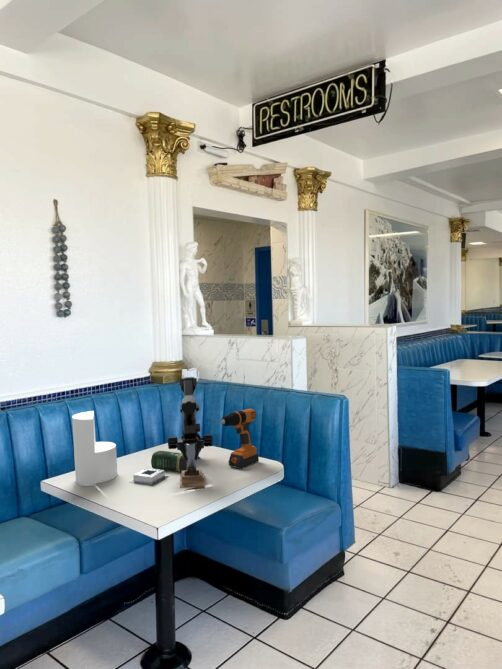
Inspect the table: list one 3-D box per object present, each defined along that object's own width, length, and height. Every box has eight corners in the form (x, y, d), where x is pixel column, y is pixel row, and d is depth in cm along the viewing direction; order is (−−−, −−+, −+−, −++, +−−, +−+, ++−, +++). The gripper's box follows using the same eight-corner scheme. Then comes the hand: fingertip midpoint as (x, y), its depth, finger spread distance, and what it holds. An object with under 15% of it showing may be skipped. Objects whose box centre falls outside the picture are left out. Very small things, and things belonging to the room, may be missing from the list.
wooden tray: (180, 477, 221) (179, 467, 221) (203, 475, 222) (203, 466, 222) (179, 490, 205) (179, 480, 205) (204, 488, 206) (204, 478, 206)
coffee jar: (149, 470, 229) (185, 475, 221) (150, 452, 229) (185, 456, 222) (162, 466, 238) (197, 470, 230) (162, 449, 238) (197, 452, 230)
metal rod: (190, 470, 216) (189, 442, 215) (198, 471, 214) (197, 442, 213) (185, 473, 213) (183, 444, 212) (193, 474, 211) (192, 445, 210)
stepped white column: (74, 488, 212) (70, 421, 210) (77, 474, 229) (73, 412, 227) (118, 482, 217) (114, 417, 215) (117, 470, 233) (113, 408, 231)
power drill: (230, 474, 222) (228, 417, 221) (218, 470, 227) (215, 415, 225) (261, 461, 239) (260, 407, 237) (249, 458, 244) (247, 406, 242)
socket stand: (146, 475, 224) (146, 466, 224) (169, 478, 219) (169, 469, 219) (128, 484, 214) (128, 475, 213) (152, 488, 208) (152, 478, 208)
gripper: (166, 418, 215) (167, 452, 205) (211, 415, 217) (214, 448, 207) (168, 432, 223) (168, 465, 213) (211, 429, 225) (213, 461, 215)
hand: (191, 460), depth 212 cm, fingers closed on metal rod, 4 cm apart
